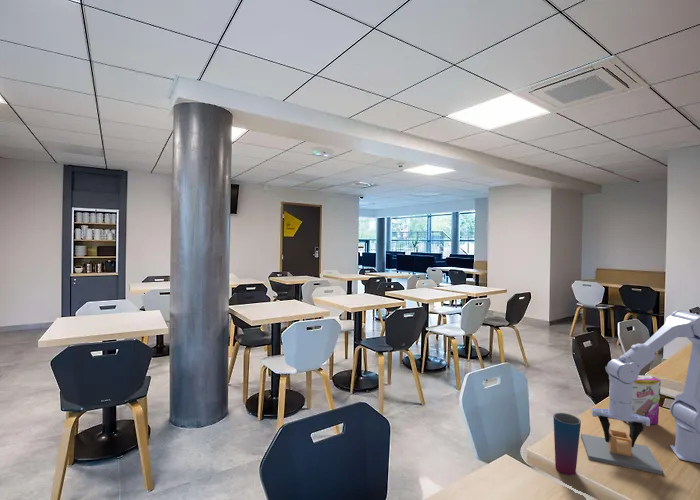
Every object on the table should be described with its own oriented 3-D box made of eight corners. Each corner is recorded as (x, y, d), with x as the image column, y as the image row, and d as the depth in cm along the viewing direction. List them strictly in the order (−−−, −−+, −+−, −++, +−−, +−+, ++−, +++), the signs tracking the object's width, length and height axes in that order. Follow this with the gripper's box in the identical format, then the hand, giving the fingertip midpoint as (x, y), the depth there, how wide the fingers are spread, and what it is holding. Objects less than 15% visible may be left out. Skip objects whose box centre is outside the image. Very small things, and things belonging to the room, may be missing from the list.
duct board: (647, 449, 118) (647, 435, 118) (663, 474, 106) (663, 459, 106) (581, 436, 126) (581, 423, 126) (588, 458, 113) (588, 444, 113)
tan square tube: (606, 443, 119) (607, 428, 119) (626, 447, 117) (627, 432, 117) (613, 458, 111) (614, 442, 111) (634, 463, 109) (635, 446, 109)
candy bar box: (629, 425, 134) (630, 379, 133) (618, 418, 139) (620, 374, 138) (659, 425, 134) (661, 379, 134) (648, 418, 139) (649, 374, 139)
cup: (552, 472, 106) (553, 420, 106) (551, 460, 112) (553, 410, 112) (580, 480, 103) (581, 426, 102) (578, 466, 109) (580, 416, 108)
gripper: (645, 398, 116) (643, 442, 116) (590, 390, 122) (589, 431, 122) (653, 408, 109) (651, 453, 110) (594, 399, 115) (593, 442, 116)
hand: (618, 443), depth 116 cm, fingers open, 6 cm apart
